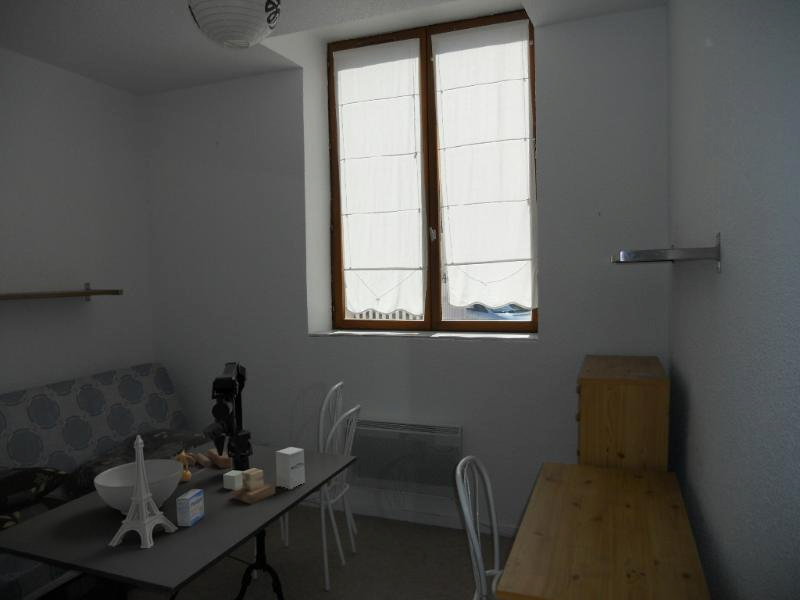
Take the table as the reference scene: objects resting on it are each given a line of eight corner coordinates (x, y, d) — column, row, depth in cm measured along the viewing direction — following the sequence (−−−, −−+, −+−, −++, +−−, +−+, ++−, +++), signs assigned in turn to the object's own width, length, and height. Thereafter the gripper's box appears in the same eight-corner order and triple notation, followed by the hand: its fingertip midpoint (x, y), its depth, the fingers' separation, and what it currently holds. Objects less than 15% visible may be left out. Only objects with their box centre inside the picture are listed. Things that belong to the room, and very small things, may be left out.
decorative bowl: (201, 495, 197) (199, 461, 196) (147, 528, 171) (145, 489, 171) (136, 490, 204) (135, 457, 204) (76, 522, 178) (73, 484, 178)
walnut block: (233, 499, 193) (232, 489, 193) (257, 490, 201) (256, 480, 201) (251, 505, 187) (251, 495, 187) (275, 495, 195) (274, 485, 195)
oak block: (242, 487, 194) (242, 471, 194) (255, 483, 198) (254, 467, 198) (251, 490, 191) (250, 474, 191) (263, 486, 195) (263, 470, 195)
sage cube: (223, 488, 203) (223, 474, 203) (233, 483, 208) (232, 470, 208) (235, 489, 201) (234, 476, 201) (244, 485, 206) (243, 471, 206)
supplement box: (290, 490, 198) (288, 454, 198) (276, 486, 203) (274, 451, 203) (306, 483, 204) (304, 448, 204) (292, 480, 209) (290, 446, 208)
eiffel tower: (107, 546, 161) (101, 441, 160) (140, 526, 174) (134, 429, 173) (148, 549, 157) (142, 442, 156) (178, 529, 170) (172, 430, 169)
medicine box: (190, 527, 171) (189, 498, 171) (177, 526, 172) (175, 498, 172) (204, 516, 179) (203, 489, 178) (191, 515, 180) (190, 488, 179)
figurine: (198, 478, 215) (197, 447, 214) (194, 484, 209) (193, 451, 208) (175, 480, 214) (174, 448, 213) (171, 486, 208) (169, 453, 207)
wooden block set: (217, 444, 242) (232, 454, 227) (218, 457, 242) (232, 468, 227) (176, 452, 232) (188, 463, 217) (177, 466, 232) (189, 477, 217)
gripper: (189, 415, 194) (192, 460, 195) (222, 421, 183) (225, 469, 184) (217, 408, 203) (220, 451, 204) (250, 414, 192) (253, 459, 192)
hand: (228, 457), depth 196 cm, fingers open, 9 cm apart
